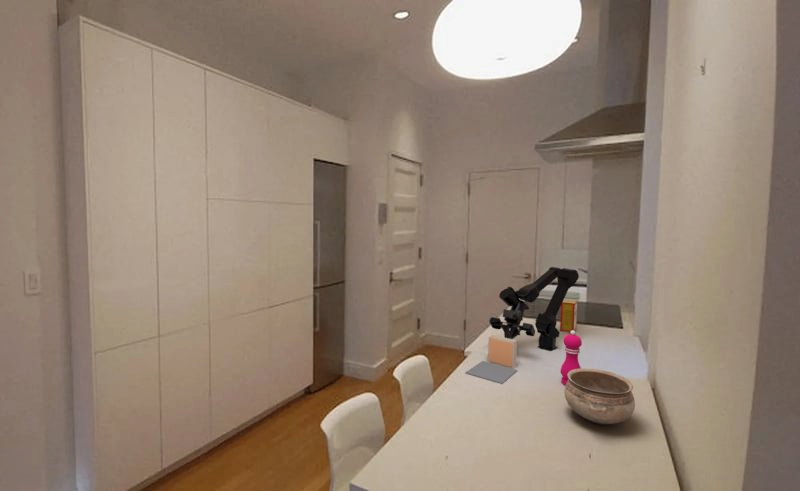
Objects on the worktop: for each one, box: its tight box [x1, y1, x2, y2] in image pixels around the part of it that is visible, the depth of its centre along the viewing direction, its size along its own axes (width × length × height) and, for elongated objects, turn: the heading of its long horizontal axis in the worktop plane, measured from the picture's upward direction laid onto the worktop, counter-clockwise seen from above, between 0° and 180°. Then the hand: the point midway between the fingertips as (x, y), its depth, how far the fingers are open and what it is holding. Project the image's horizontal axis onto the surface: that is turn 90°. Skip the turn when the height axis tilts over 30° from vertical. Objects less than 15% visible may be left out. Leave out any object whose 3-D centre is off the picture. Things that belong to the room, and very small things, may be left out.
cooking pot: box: [563, 367, 636, 426], centre depth 116 cm, size 25×19×12 cm
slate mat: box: [465, 360, 518, 385], centre depth 151 cm, size 15×15×1 cm
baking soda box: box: [559, 298, 579, 333], centre depth 206 cm, size 10×6×16 cm
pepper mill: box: [559, 330, 583, 387], centre depth 140 cm, size 7×7×20 cm
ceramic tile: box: [487, 334, 518, 369], centre depth 158 cm, size 3×11×11 cm, turn 52°
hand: (505, 343), depth 161 cm, fingers closed
